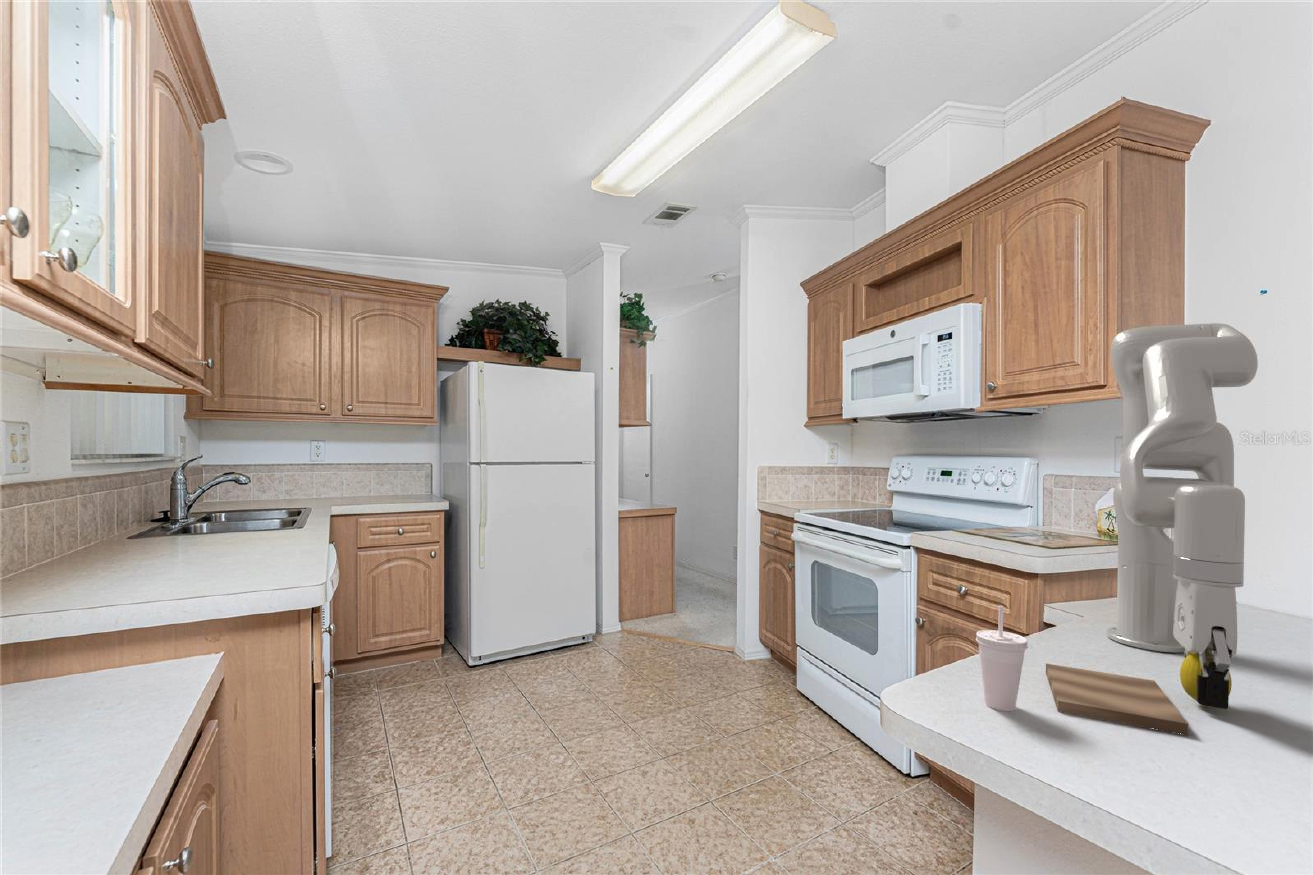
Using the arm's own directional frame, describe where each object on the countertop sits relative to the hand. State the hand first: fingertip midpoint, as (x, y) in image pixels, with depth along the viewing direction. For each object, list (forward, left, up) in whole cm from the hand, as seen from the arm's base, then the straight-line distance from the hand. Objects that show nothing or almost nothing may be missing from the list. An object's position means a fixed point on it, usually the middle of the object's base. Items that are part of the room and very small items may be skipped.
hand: (1205, 696), depth 88 cm
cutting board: (+5, -12, -1) cm, 13 cm away
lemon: (0, 0, -2) cm, 2 cm away
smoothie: (+15, -26, -2) cm, 30 cm away
